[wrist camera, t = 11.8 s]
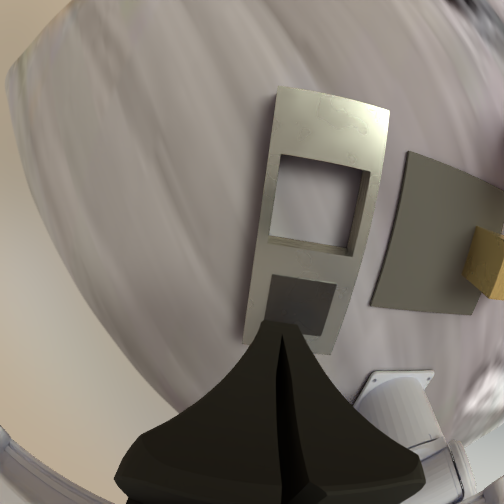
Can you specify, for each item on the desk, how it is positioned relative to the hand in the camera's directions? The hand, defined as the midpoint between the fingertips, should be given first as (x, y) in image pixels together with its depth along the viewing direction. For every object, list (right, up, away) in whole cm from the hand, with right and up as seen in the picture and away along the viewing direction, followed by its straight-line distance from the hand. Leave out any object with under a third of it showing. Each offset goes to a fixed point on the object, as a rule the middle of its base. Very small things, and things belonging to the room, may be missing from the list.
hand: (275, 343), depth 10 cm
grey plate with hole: (+3, +5, +9) cm, 10 cm away
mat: (+15, +4, +8) cm, 17 cm away
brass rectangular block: (+17, +3, +5) cm, 18 cm away
